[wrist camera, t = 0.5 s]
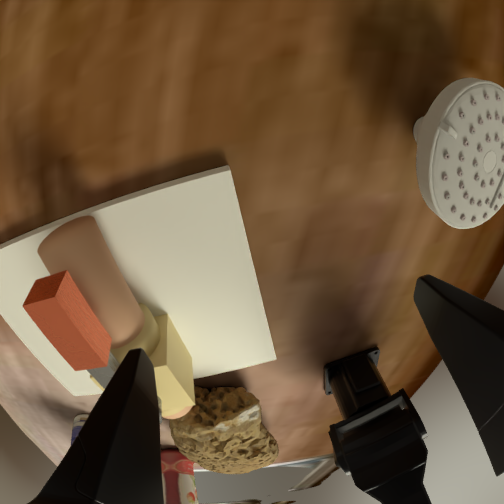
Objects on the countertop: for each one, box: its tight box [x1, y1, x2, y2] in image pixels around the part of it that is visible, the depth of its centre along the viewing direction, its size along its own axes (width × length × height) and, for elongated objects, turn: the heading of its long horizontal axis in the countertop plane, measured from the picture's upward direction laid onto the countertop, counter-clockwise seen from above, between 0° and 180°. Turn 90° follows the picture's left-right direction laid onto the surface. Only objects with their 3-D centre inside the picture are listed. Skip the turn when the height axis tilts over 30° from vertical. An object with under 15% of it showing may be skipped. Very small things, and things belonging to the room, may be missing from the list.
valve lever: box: [22, 270, 162, 424], centre depth 16 cm, size 13×3×2 cm, turn 11°
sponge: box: [169, 386, 279, 474], centre depth 32 cm, size 13×8×20 cm
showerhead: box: [413, 78, 504, 229], centre depth 16 cm, size 9×7×10 cm
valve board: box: [0, 165, 276, 419], centre depth 21 cm, size 18×22×6 cm
